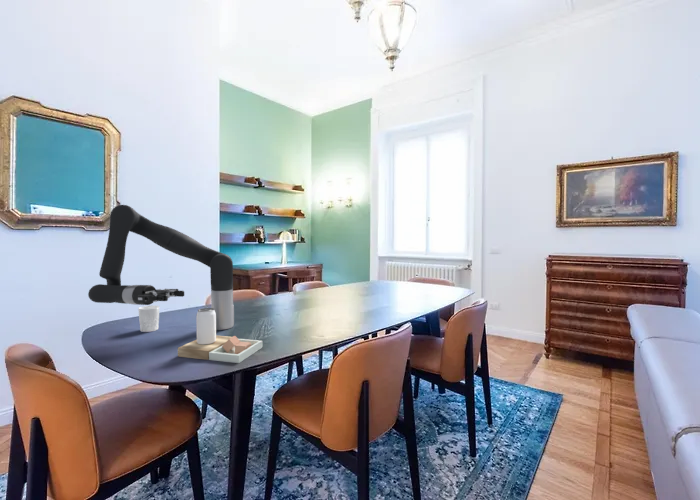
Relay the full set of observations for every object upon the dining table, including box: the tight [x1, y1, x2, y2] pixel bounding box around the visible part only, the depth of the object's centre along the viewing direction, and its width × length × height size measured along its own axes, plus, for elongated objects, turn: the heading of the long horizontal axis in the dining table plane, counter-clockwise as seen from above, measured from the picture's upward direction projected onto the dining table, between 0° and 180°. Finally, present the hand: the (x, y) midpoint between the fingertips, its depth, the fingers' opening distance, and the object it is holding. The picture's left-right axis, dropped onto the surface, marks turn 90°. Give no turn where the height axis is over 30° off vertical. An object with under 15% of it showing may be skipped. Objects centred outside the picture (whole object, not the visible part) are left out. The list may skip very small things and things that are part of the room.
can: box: [195, 307, 217, 345], centre depth 123 cm, size 6×6×12 cm
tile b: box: [235, 342, 251, 354], centre depth 120 cm, size 4×4×3 cm
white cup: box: [137, 305, 160, 333], centre depth 148 cm, size 8×8×10 cm
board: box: [177, 334, 233, 361], centre depth 123 cm, size 16×12×3 cm
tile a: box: [222, 335, 240, 353], centre depth 121 cm, size 4×4×3 cm
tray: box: [208, 338, 263, 364], centre depth 121 cm, size 16×11×2 cm
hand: (175, 295), depth 127 cm, fingers open, 8 cm apart
